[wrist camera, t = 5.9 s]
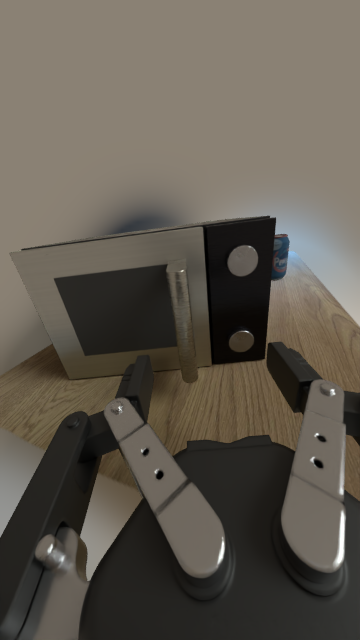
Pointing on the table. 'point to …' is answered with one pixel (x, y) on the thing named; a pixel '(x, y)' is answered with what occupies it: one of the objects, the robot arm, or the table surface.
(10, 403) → the table surface
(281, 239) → the soda can
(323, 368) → the table surface
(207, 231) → the microwave
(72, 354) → the microwave door
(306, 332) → the table surface
